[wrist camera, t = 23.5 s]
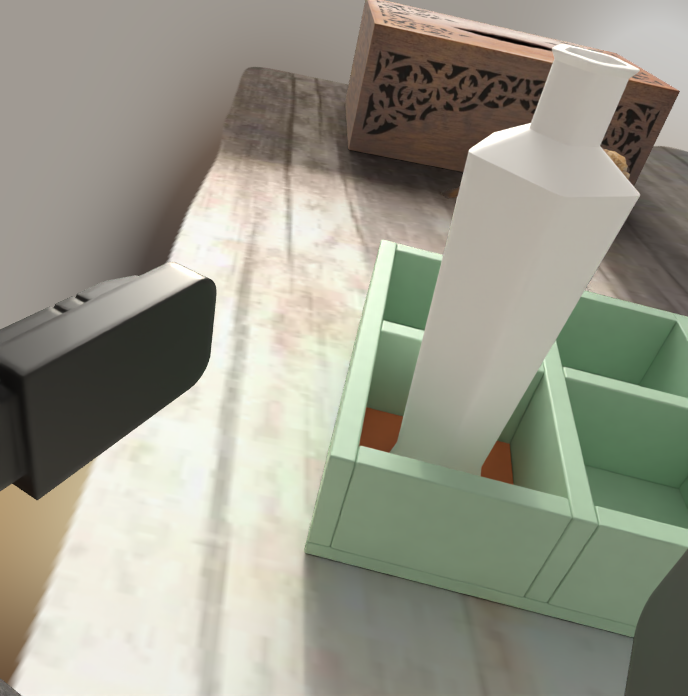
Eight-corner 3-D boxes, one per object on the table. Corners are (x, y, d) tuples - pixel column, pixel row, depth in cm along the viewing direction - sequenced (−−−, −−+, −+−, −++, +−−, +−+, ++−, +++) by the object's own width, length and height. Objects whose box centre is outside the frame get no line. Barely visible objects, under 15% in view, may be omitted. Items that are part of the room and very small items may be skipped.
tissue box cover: (576, 150, 71) (616, 53, 65) (625, 203, 59) (679, 91, 53) (345, 102, 67) (366, -4, 61) (348, 149, 55) (374, 23, 50)
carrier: (645, 388, 34) (689, 316, 31) (755, 669, 21) (845, 588, 19) (361, 316, 34) (381, 238, 31) (303, 553, 21) (329, 456, 19)
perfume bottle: (360, 508, 22) (508, 49, 14) (374, 426, 26) (499, 22, 17) (488, 542, 22) (716, 102, 14) (485, 455, 26) (665, 64, 17)
